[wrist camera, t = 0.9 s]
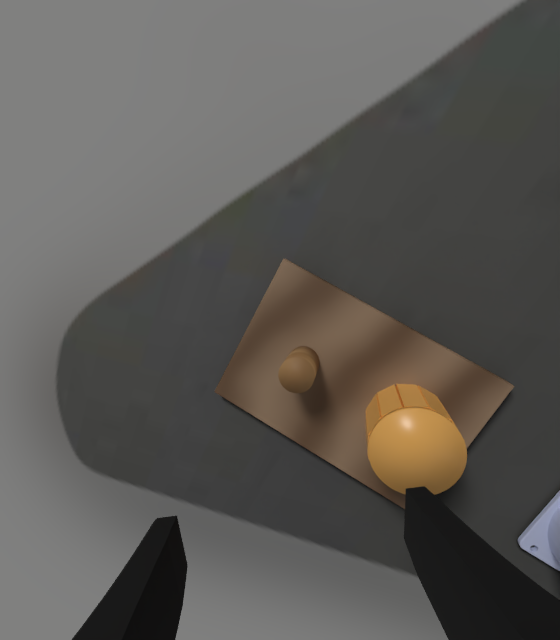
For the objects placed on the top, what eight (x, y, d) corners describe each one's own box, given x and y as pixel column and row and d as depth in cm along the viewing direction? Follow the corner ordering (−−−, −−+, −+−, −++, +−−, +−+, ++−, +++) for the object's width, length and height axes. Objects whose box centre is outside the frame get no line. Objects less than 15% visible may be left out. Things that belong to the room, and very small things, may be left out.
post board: (507, 381, 24) (541, 406, 20) (413, 506, 27) (424, 553, 23) (286, 259, 26) (272, 257, 22) (218, 387, 29) (195, 408, 24)
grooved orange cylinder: (463, 410, 24) (487, 442, 20) (418, 471, 25) (432, 513, 21) (391, 369, 25) (399, 391, 20) (351, 430, 26) (351, 463, 22)
